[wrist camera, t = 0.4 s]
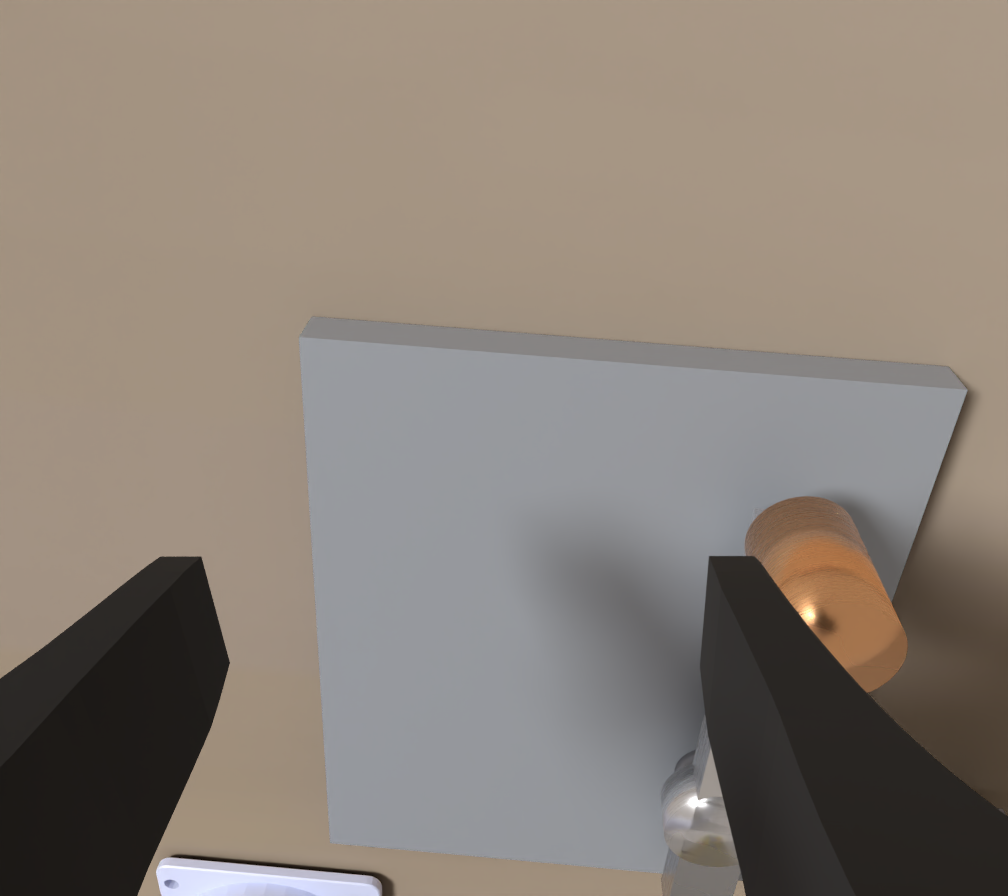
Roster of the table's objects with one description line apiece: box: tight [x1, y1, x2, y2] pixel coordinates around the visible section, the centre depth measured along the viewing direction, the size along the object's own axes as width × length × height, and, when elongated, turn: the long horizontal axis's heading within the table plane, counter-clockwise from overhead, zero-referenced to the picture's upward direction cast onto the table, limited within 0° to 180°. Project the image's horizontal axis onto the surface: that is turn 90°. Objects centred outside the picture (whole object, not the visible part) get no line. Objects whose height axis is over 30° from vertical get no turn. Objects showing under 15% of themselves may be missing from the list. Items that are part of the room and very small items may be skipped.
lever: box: [660, 496, 908, 896], centre depth 22 cm, size 15×3×5 cm, turn 177°
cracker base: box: [299, 317, 1006, 881], centre depth 24 cm, size 18×20×4 cm
